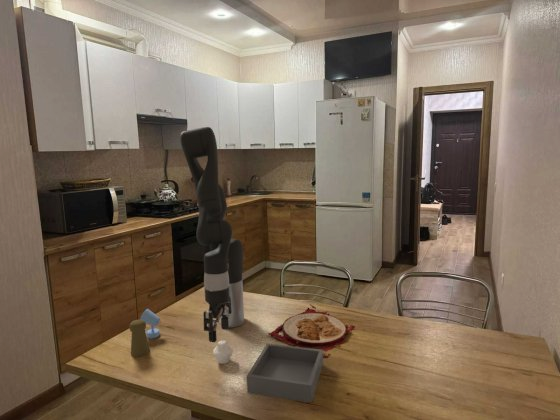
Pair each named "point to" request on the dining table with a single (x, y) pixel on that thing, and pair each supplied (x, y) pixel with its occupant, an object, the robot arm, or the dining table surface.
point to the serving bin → (286, 372)
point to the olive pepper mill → (139, 338)
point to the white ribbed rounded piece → (223, 352)
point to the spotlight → (153, 320)
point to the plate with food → (313, 330)
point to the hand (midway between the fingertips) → (219, 335)
